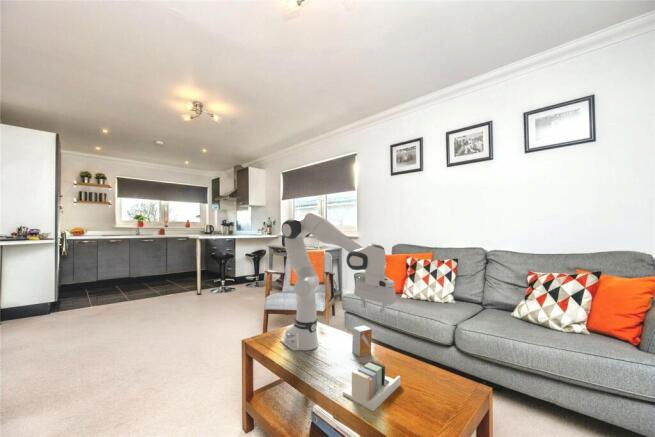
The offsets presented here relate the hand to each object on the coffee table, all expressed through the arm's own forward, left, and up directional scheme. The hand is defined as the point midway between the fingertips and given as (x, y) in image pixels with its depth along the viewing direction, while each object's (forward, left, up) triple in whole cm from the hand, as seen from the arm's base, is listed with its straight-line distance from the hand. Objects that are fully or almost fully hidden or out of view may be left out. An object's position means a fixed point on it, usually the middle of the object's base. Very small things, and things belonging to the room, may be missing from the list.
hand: (373, 309), depth 122 cm
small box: (-14, +14, -29) cm, 35 cm away
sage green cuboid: (+7, -10, -28) cm, 30 cm away
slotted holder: (+7, -10, -29) cm, 31 cm away
